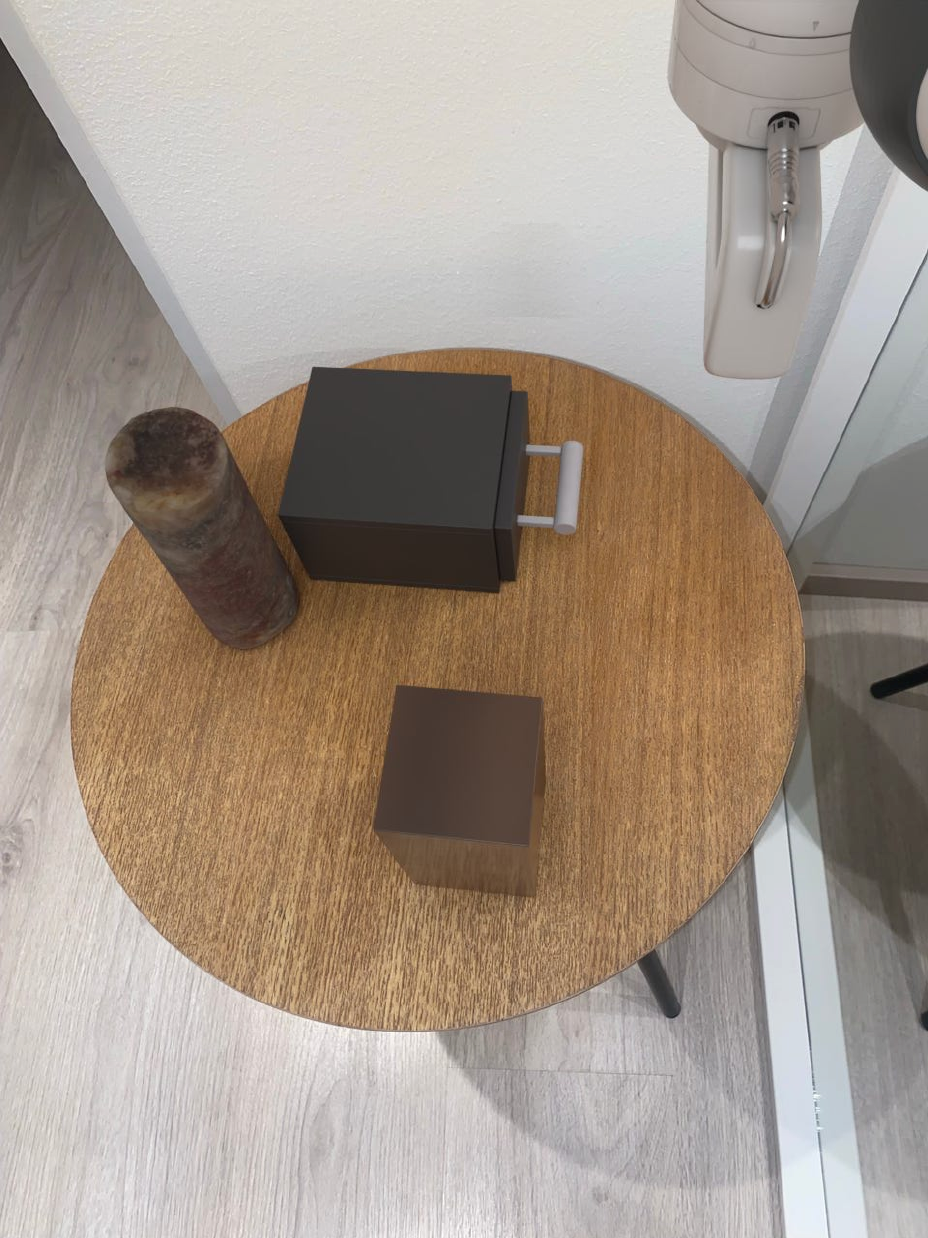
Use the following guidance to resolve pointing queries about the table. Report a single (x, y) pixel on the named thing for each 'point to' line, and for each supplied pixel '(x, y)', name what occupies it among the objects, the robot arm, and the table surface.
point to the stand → (464, 789)
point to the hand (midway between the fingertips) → (728, 290)
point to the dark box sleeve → (398, 478)
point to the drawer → (515, 486)
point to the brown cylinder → (203, 524)
